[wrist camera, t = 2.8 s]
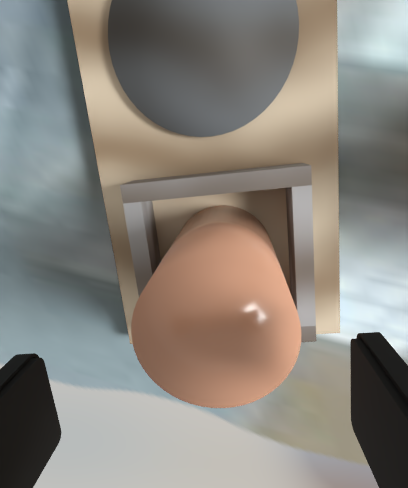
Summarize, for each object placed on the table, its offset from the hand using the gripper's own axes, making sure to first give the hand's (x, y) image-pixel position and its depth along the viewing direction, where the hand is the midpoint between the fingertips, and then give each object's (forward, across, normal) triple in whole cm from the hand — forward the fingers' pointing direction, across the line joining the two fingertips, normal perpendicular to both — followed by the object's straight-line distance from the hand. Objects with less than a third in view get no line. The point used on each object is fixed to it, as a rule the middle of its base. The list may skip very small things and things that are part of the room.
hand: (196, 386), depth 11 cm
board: (+13, -1, -7) cm, 15 cm away
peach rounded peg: (+12, -1, -1) cm, 12 cm away
